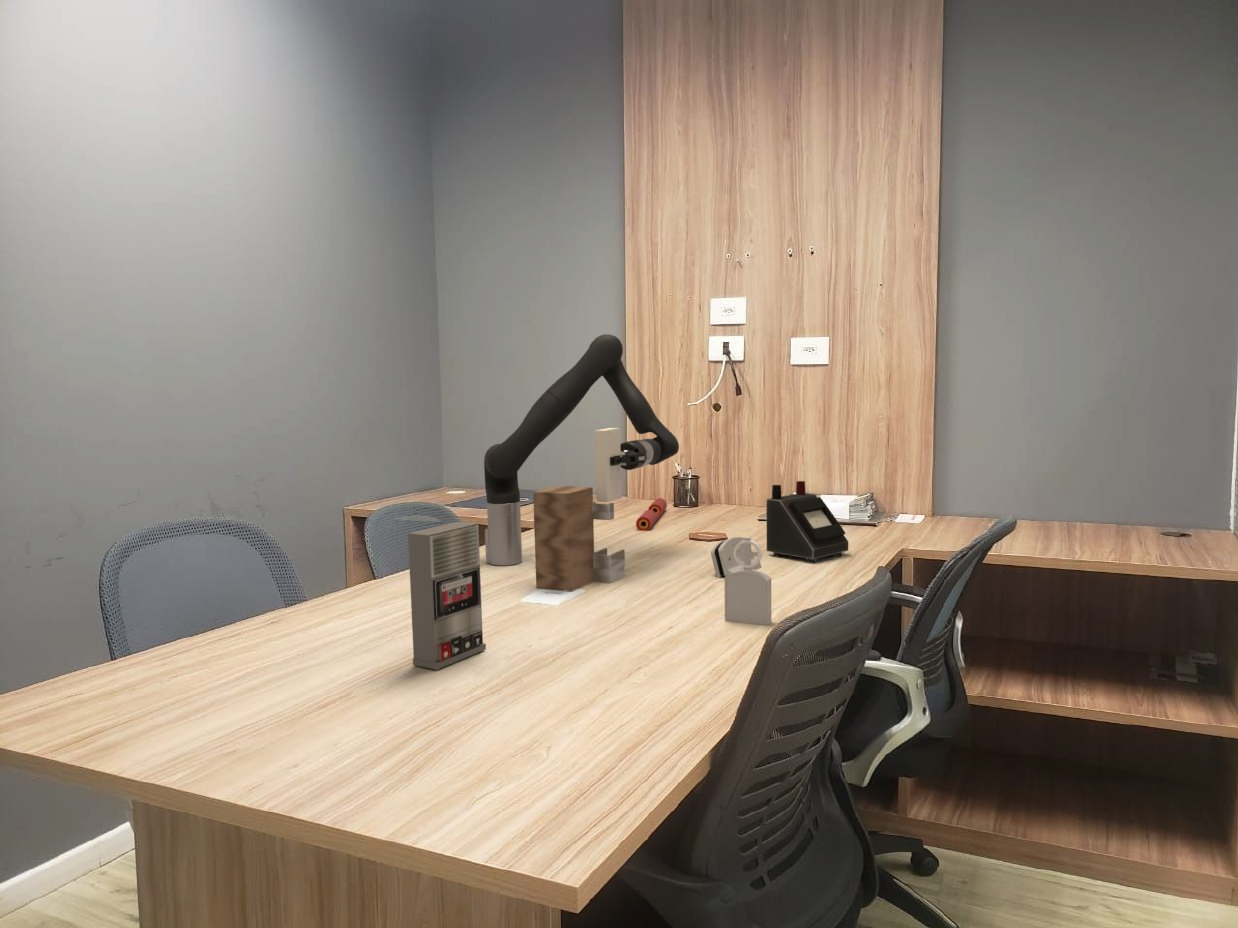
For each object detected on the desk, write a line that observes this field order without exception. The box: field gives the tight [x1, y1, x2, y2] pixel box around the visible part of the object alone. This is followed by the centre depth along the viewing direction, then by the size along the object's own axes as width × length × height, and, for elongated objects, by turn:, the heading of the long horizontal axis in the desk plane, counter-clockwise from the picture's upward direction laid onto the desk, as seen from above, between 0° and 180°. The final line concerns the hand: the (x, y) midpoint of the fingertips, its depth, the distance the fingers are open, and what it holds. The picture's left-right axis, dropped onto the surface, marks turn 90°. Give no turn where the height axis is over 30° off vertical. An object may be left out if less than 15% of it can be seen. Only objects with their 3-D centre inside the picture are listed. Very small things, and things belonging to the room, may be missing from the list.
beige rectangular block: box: [594, 427, 623, 503], centre depth 238 cm, size 3×8×18 cm, turn 153°
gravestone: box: [723, 536, 772, 626], centre depth 197 cm, size 3×9×18 cm, turn 65°
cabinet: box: [532, 485, 626, 592], centre depth 236 cm, size 15×20×24 cm
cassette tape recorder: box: [407, 521, 487, 671], centre depth 176 cm, size 14×6×25 cm, turn 148°
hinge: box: [710, 536, 762, 578], centre depth 245 cm, size 17×5×10 cm, turn 146°
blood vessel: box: [635, 497, 668, 532], centre depth 328 cm, size 42×5×5 cm, turn 170°
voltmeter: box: [765, 480, 849, 564], centre depth 262 cm, size 16×16×20 cm
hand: (604, 461), depth 237 cm, fingers closed on beige rectangular block, 3 cm apart
